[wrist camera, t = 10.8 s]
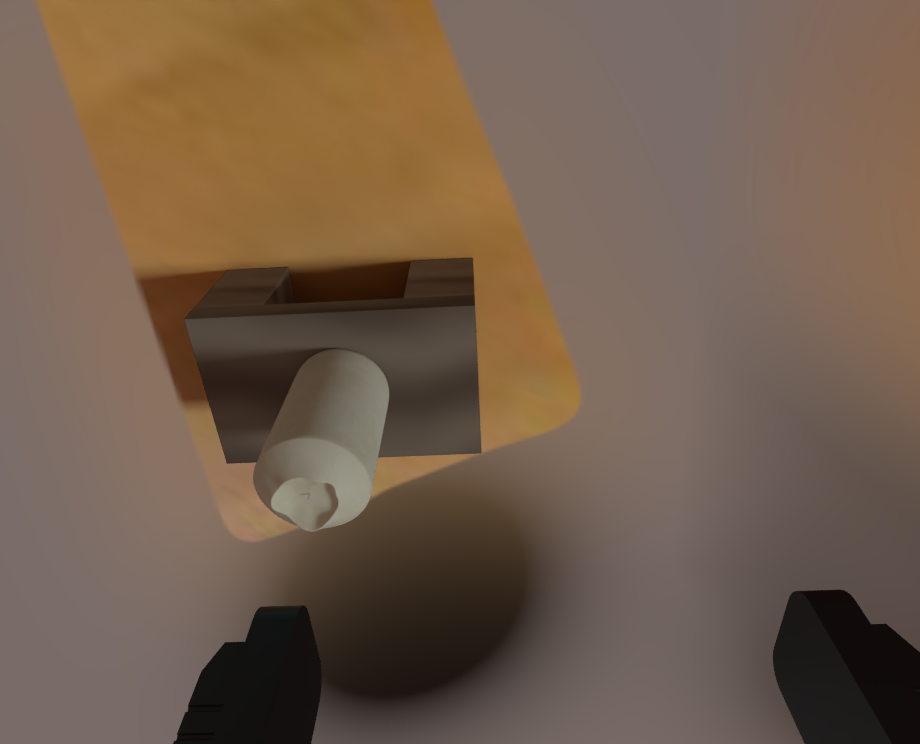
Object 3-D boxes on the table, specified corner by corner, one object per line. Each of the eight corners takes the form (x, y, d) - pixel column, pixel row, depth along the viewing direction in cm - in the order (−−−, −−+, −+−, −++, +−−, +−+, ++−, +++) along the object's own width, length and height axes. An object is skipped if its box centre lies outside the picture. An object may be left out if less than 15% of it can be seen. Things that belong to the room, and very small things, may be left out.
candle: (392, 428, 39) (370, 551, 30) (301, 426, 39) (253, 549, 30) (388, 348, 36) (363, 458, 27) (290, 346, 36) (234, 456, 27)
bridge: (227, 270, 41) (183, 319, 35) (472, 257, 41) (474, 305, 34) (259, 399, 46) (226, 463, 40) (478, 389, 46) (481, 453, 39)
